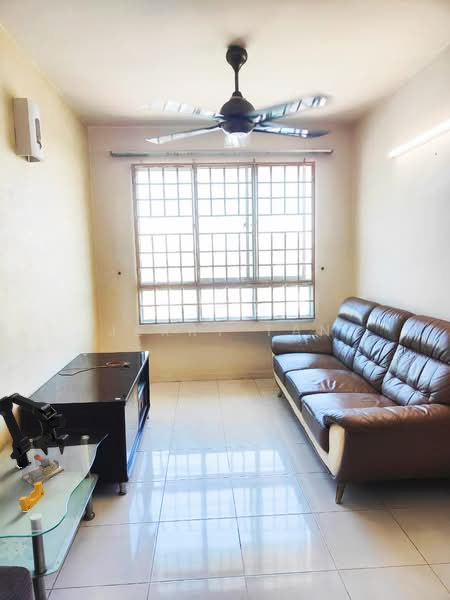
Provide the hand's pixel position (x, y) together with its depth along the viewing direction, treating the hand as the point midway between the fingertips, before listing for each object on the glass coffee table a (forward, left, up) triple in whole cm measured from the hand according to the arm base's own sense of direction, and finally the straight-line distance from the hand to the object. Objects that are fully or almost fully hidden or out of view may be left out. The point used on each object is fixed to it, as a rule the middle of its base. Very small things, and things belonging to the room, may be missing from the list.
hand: (54, 454), depth 201 cm
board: (+1, -8, -6) cm, 10 cm away
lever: (-1, -6, -1) cm, 7 cm away
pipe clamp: (+21, -22, -6) cm, 31 cm away
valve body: (+4, -8, -5) cm, 10 cm away
